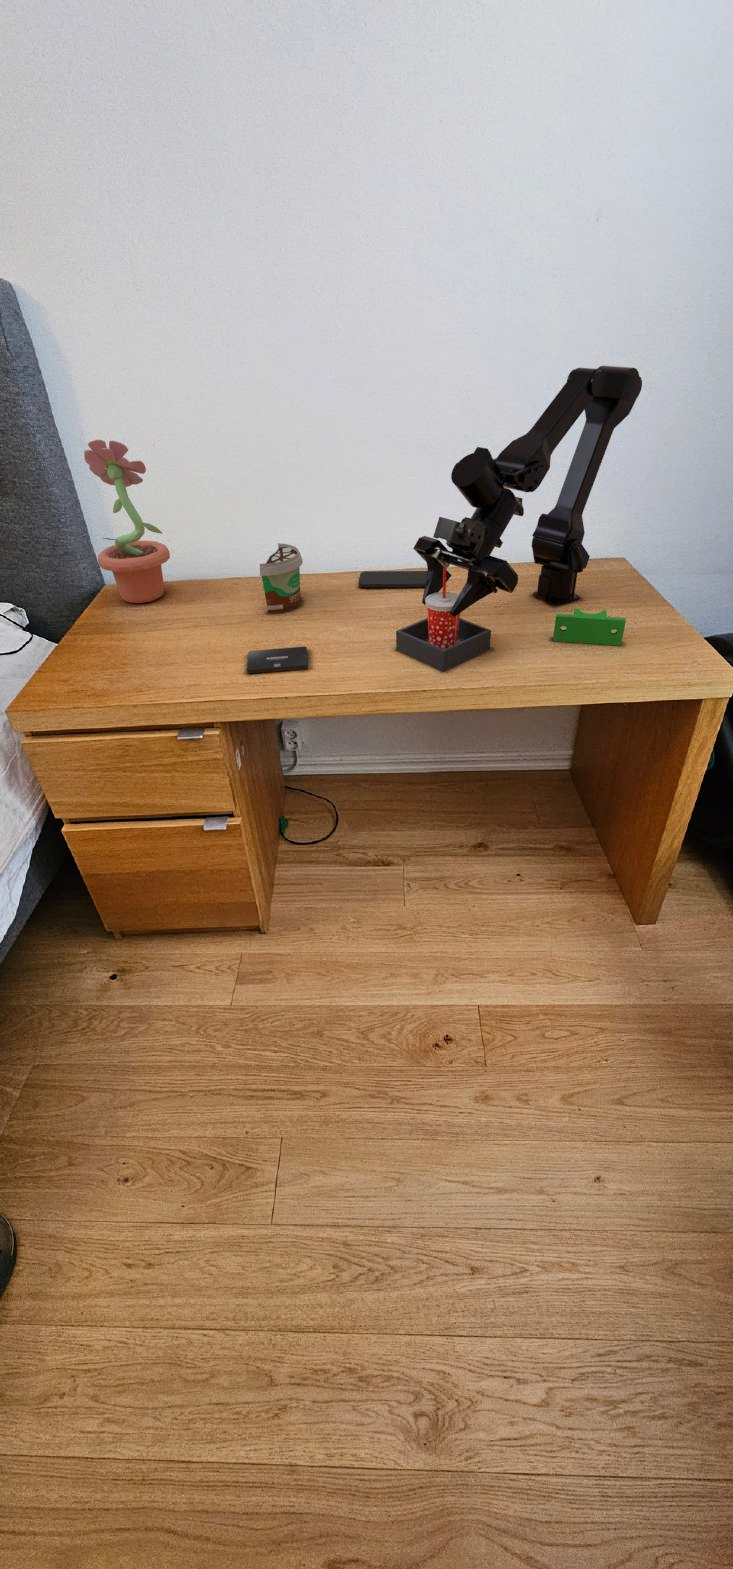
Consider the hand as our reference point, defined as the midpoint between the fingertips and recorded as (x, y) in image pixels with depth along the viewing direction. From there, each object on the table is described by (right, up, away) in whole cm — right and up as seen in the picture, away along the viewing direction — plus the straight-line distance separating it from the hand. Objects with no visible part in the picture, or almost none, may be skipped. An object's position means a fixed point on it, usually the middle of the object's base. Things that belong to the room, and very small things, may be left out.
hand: (437, 609), depth 113 cm
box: (+1, -5, +5) cm, 8 cm away
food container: (-26, +7, +24) cm, 36 cm away
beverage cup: (+1, -6, +5) cm, 8 cm away
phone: (-5, +13, +31) cm, 34 cm away
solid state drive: (-26, -8, +4) cm, 28 cm away
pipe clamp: (+26, -4, +6) cm, 27 cm away
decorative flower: (-57, +10, +30) cm, 65 cm away
